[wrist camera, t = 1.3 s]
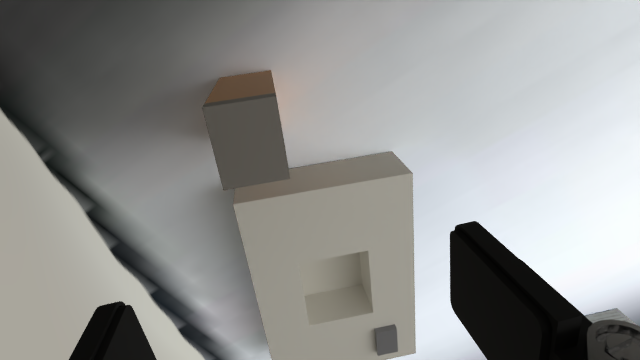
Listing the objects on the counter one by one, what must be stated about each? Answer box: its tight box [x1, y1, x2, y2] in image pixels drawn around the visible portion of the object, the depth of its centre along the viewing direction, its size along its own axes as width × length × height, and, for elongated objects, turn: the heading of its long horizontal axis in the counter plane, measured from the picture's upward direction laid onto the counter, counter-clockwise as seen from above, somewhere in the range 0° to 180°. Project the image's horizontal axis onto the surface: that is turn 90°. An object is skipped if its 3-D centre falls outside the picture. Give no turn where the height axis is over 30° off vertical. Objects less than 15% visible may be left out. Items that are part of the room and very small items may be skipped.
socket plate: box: [233, 151, 416, 360], centre depth 35 cm, size 20×14×6 cm
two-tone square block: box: [202, 70, 290, 190], centre depth 26 cm, size 5×4×10 cm
